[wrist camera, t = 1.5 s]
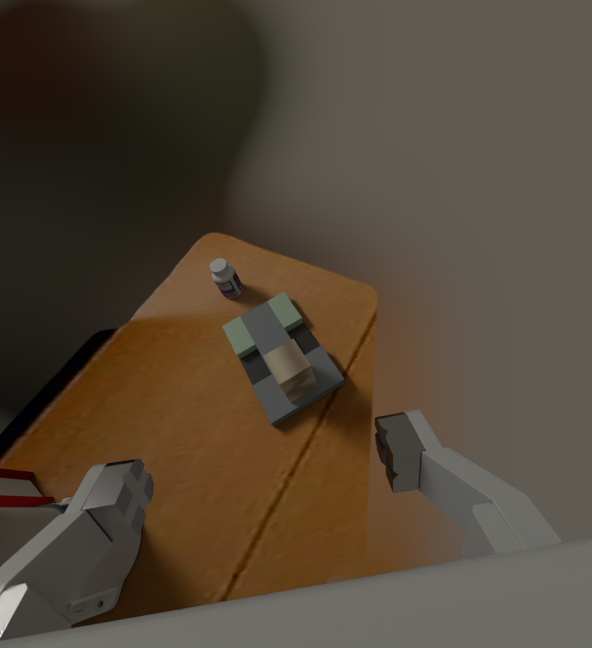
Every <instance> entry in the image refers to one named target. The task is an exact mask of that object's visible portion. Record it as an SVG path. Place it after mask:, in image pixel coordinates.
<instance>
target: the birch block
mask: <svg viewBox="0 0 592 648" xmlns="http://www.w3.org/2000/svg"><path fill="white" fill-rule="evenodd" d="M263 357H264V359H265V361H266V363H267V364H268V366H269V368H270V370H271V372H272V373H273V375H274V377H275V379H276V381H277V382H278V384H279V386H280V387H281V389H282V390H283V392H284V394H285V395H286V397H287V398H288V400H289V401H290V403H291V402H292V401H294V400H296V399H297V398H299V397H301V396H302V395H304V394H306V393H307V392H309V391H311V390H312V389H314V388H316V387H317V386H318V385H317V382H316V379H315V376H314V373H313V370H312V368H311V365H310V364H309V362H308V360H307V359H306V357H305V356H304V354H303V353H302V351H301V350H300V348H299V346H298V345H297V343H296V342H295V340H294V339H292V340H290V341H288V342H286V343H285V344H283V345H281V346H279V347H278V348H276V349H274V350H273V351H271V352H269V353H267V354H266V355H264V356H263Z"/></svg>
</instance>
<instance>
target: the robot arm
mask: <svg viewBox="0 0 592 648" xmlns="http://www.w3.org/2000/svg"><path fill="white" fill-rule="evenodd" d="M375 427H376V429H377V433H376V434H375V437H376V446H377V451H378V454H379V457H380V460H381V462H382V463H383V464H384V465H385V466H386V476H387V478H388V481H389V483H390V486H391V489H392V491H393V493H397V492H404V491H410V490H418V489H419V491H420V492H421V493H422V494H423V495H425V496H426V497H427V498H428V499H429V500H430V501H431V502H432V503H433V504H435V505H436V506H437V507H438V508H439V509H440V510H441V511H442V512H444V513H445V514H446V515H447V516H448V517H449V518H450V519H451V520H452V521H453V522H455V523H456V524H457V525H458V526H459V527H460V528H461V529H462V530H463V531H465V532H466V533H467V535H466V540H465V544H464V549H463V553H462V557H463V560H459V561H453V562H448V563H442V564H436V565H430V566H424V567H419V568H413V569H407V570H401V571H396V572H390V573H384V574H379V575H373V576H368V577H361V578H356V579H350V580H345V581H339V582H333V583H327V584H321V585H316V586H310V587H304V588H298V589H293V590H287V591H281V592H276V593H270V594H264V595H258V596H253V597H247V598H241V599H236V600H230V601H224V602H219V603H213V604H207V605H201V606H196V607H190V608H184V609H179V610H173V611H167V612H162V613H156V614H150V615H145V616H139V617H133V618H128V619H122V620H116V621H110V622H105V623H99V624H93V625H88V626H82V627H76V628H71V626H72V625H73V624H76V623H78V622H81V621H84V620H86V619H89V618H92V617H94V616H97V615H99V614H102V613H105V612H107V611H110V610H112V609H113V608H114V607H115V606H116V604H117V602H118V599H119V596H120V592H121V589H122V585H123V582H124V580H125V578H126V577H127V575H128V573H129V572H130V570H131V568H132V566H133V564H134V562H135V559H136V557H137V554H138V551H139V547H140V541H141V529H142V526H143V523H144V521H145V518H146V515H145V512H144V509H145V508H146V507H147V506H148V505H149V504H150V502H151V499H152V496H153V488H154V484H153V479H152V477H151V475H150V473H148V472H146V471H144V470H143V468H144V466H145V465H144V463H143V462H142V460H141V459H133V460H126V461H120V462H113V463H107V464H101V465H94V466H93V467H92V468H90V469H89V471H88V472H87V474H86V476H85V478H84V479H83V481H82V483H81V485H80V486H79V488H78V490H77V492H76V493H75V495H74V497H70V498H65V499H63V500H62V502H60V503H52V504H46V505H41V506H37V507H35V508H28V507H0V648H592V537H590V538H584V539H579V540H573V541H567V542H562V541H561V540H560V539H559V537H558V536H557V535H556V533H555V532H554V531H553V529H552V528H551V527H550V525H549V524H548V523H547V521H546V520H545V519H544V518H543V516H542V515H541V514H540V512H539V511H538V510H537V508H536V507H535V506H534V505H533V503H532V502H531V501H530V499H529V498H528V497H527V496H526V495H525V494H524V493H522V492H520V491H519V490H517V489H516V488H514V487H512V486H510V485H509V484H507V483H506V482H504V481H503V480H501V479H499V478H498V477H496V476H494V475H493V474H491V473H489V472H488V471H486V470H485V469H483V468H481V467H480V466H478V465H476V464H475V463H473V462H471V461H470V460H468V459H467V458H465V457H463V456H462V455H460V454H458V453H457V452H455V451H453V450H452V449H450V448H448V447H447V448H443V446H442V445H441V443H440V441H439V440H438V438H437V436H436V435H435V433H434V431H433V430H432V428H431V427H430V425H429V423H428V422H427V420H426V418H425V417H424V415H423V414H422V412H421V411H420V410H414V411H408V412H404V413H403V412H401V413H396V414H391V415H385V416H380V417H376V418H375ZM102 601H103V605H101V602H102ZM70 628H71V629H70Z"/></svg>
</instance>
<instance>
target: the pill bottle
mask: <svg viewBox="0 0 592 648" xmlns="http://www.w3.org/2000/svg"><path fill="white" fill-rule="evenodd" d="M210 270H211V272H212V279H213V280H214V282H215V283H216V285H217V286H218V288H219V290H220V291H221V293H222V294H223V296H224V297H226V298H228V299H233V298H236V297H238V296H239V295H240V294H241V293H242V291H243V286H242V283H241V281H240V280H239V278H238V276H237V274H236V272H235V270H234V268H233V267H232V266H231V265H229V264H228V263H227V262H226V260H225V259H222V258H219V259H216V260H214V261H213V262H212V263H211V264H210Z"/></svg>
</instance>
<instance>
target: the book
mask: <svg viewBox="0 0 592 648" xmlns="http://www.w3.org/2000/svg"><path fill="white" fill-rule="evenodd" d="M32 475H33V472H26V471H17V470H8V469H0V507H28V508H35V507H37V506H41V505H46V504H48V503H49V502H50V501H51V500H52V498H53V497H43V496H42V495H41V494H40V493H39V491H38V490H37V489H36V487H35V486H34V485H33V484H32V482H31V481H30V479H31V477H32Z"/></svg>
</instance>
